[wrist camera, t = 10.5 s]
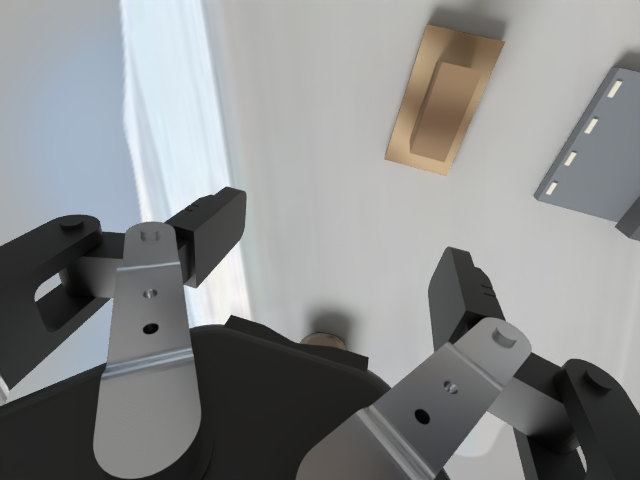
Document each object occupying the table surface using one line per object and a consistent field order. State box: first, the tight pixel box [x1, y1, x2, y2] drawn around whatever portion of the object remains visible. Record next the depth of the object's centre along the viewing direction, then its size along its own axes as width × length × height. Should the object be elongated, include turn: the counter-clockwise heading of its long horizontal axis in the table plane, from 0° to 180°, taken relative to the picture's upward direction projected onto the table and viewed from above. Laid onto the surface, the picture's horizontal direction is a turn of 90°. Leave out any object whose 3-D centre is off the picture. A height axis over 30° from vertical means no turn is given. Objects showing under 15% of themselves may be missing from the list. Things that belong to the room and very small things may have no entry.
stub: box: [385, 24, 505, 176], centre depth 28 cm, size 12×7×7 cm, turn 168°
